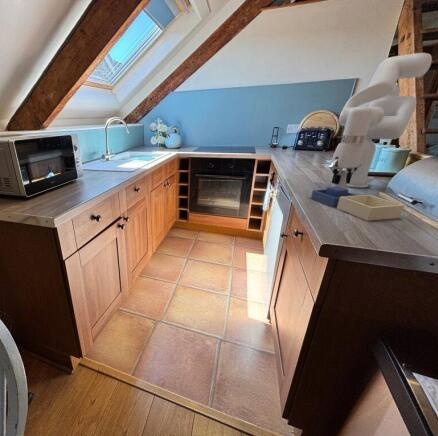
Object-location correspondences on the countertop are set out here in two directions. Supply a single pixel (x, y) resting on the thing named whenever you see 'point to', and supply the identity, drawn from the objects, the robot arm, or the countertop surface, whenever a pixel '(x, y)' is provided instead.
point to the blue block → (336, 192)
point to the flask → (342, 180)
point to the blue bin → (327, 197)
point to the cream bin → (370, 207)
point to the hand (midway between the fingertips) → (340, 182)
